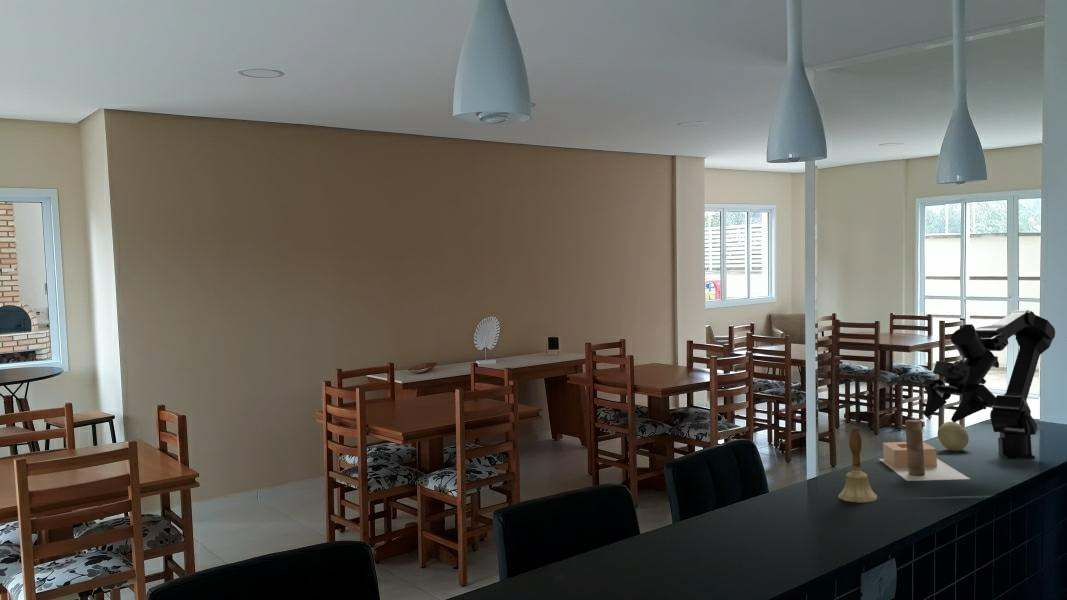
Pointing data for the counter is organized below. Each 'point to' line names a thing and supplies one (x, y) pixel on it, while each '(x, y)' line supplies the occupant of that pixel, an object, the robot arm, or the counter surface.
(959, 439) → the potato
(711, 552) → the counter surface
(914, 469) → the walnut peg
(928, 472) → the collar plate
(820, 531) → the counter surface
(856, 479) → the hand bell
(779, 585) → the counter surface
